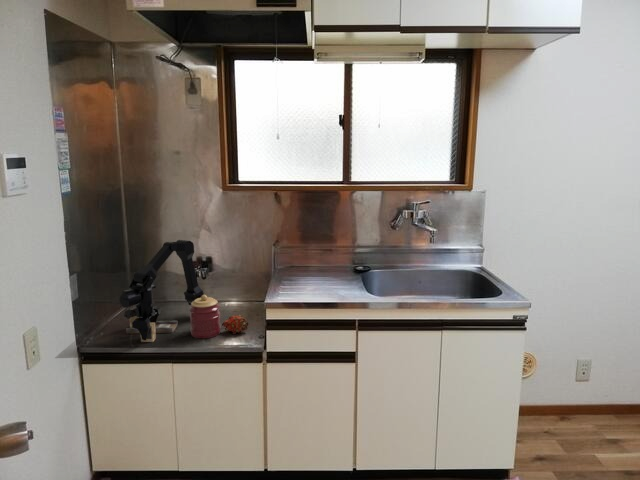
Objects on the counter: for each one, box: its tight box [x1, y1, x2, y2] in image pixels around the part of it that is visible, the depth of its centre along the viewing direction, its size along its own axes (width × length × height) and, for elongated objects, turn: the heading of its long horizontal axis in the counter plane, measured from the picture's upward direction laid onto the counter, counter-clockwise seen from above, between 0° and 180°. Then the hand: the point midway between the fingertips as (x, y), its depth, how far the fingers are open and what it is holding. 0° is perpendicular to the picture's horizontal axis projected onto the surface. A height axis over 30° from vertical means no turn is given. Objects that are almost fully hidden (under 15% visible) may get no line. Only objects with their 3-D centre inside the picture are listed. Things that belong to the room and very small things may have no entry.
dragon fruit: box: [221, 314, 249, 335], centre depth 200 cm, size 8×8×12 cm
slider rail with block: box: [125, 316, 179, 335], centre depth 204 cm, size 20×9×8 cm, turn 93°
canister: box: [188, 294, 222, 339], centre depth 198 cm, size 13×13×18 cm
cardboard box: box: [140, 323, 157, 343], centre depth 192 cm, size 5×5×7 cm
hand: (148, 335), depth 192 cm, fingers open, 9 cm apart
